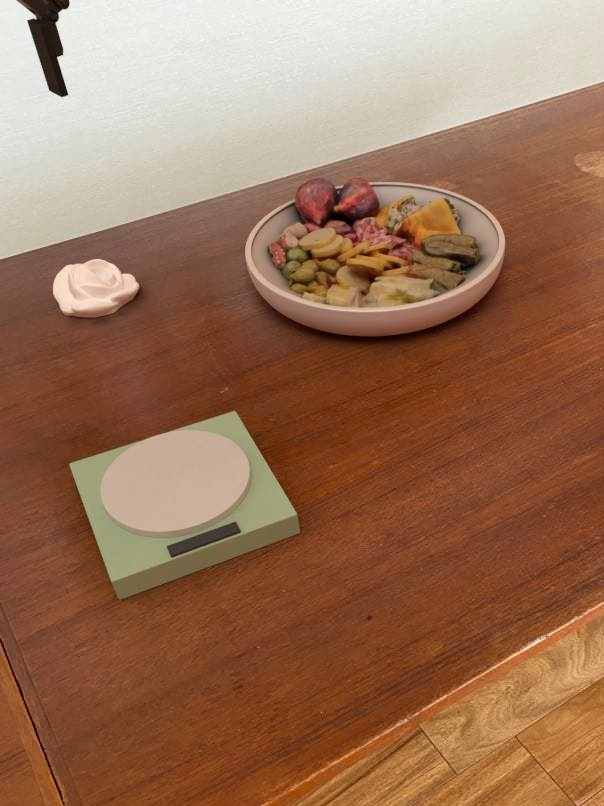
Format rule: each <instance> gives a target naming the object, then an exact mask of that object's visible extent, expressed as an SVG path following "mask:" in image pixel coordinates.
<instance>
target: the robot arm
mask: <svg viewBox="0 0 604 806" xmlns="http://www.w3.org/2000/svg"><path fill="white" fill-rule="evenodd" d="M16 2H18V3H19V4H20V5H22V7H24V8H25V9H27V10H28V11H29V12H30V13H31V14H33V15H34V16H35V17H34V18H30V19H27V20H26V22H27V24H28V28H29V31H30V34H31V37H32V40H33V44H34V47H35V50H36V53H37V57H38V59H39V63H40V66H41V69H42V72H43V75H44V76H43V77H44V78H45V82H46V85H47V89H48V91H49V92H51V93H53V94H55V95H57V96H59V97H60V98H64V97H68V96H69V92H68V89H67V85H66V82H65V79H64V75H63V72H62V69H61V65H60V62H59V57H62V56H64V47H63V46H64V45H63V43H62V40H61V36H60V33H59V29H58V26H57V23H58V22H59V19H60V14H59V13H61V12H62V11H63V10H67V9H69V7H70V4H71V3H70V0H16Z"/></svg>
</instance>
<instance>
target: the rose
mask: <svg viewBox="0 0 604 806" xmlns="http://www.w3.org/2000/svg"><path fill="white" fill-rule="evenodd" d="M139 290H140V284H139V282H137V280H136V277H135V276H134V275H132V274H131V273H122V272H121V269H120V268H118V267H117V265H115V264H114V263H111V262H108V261H107V260H104V259H101V258H94V259H91V260H88V261H86V262H84V263H75V264H67V265H65V266H64V267H62V268H61V270H60V271H59V272H58V273H57V274H56V275H55V277H54V280H53V284H52V294H53V297H54V299H55V301H56V302H57V303H58V306H59V308H60V311H61V312H62V314H63V315H65V316H68V317H69V316H71V317H78V318H79V317H80V318H97V317H98V318H99V317H104V316H107V315H112V314H114V313H115V312H117V311H118V310H119V309H120V308H122V307H123V306H124V305H126V304H127V303H129V302H131V301H133V300H134V298H135V297H136V295H137V293H138V292H139Z"/></svg>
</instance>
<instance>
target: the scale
mask: <svg viewBox="0 0 604 806" xmlns="http://www.w3.org/2000/svg"><path fill="white" fill-rule="evenodd" d="M68 466H69V468H70V471H71V474H72V477H73V479H74V482H75V485H76V487H77V490H78V493H79V496H80V499H81V501H82V505H83V508H84V510H85V513H86V515H87V519H88V521H89V525H90V527H91V530H92V532H93V535H94V538H95V541H96V544H97V546H98V549H99V552H100V555H101V557H102V560H103V563H104V566H105V569H106V571H107V575H108V577H109V579H110V583H111V585H112V587H113V589H114V592H115V594H116V597H117V599H118V600H119V601H121V600H124V599H127V598H129V597H132V596H135V595H137V594H141V593H142V592H145V591H148V590H151V589H153V588H156V587H159V586H162V585H165V584H167V583H170V582H172V581H175V580H178V579H180V578H184V577H186V576H188V575H191V574H194V573H197V572H199V571H202V570H205V569H207V568H210V567H213V566H215V565H219V564H221V563H223V562H226V561H230V560H232V559H235V558H237V557H240V556H242V555H245V554H248V553H250V552H254V551H257V550H259V549H262V548H265V547H267V546H269V545H270V546H271V545H272V544H275V543H277V542H280V541H283V540H286V539H288V538H291V537H294V536H297V535H299V534H301V528H300V521H299V516H298V515H299V514H298V512H297V510H296V509H295V508H294V506H293V504H292V503H291V501H290V499H289V497H288V496H287V494H286V493H285V491H284V489H283V488H282V486H281V485H280V483H279V481H278V479H277V477H276V475H275V474H274V472H273V471H272V469H271V467H270V466H269V464H268V462H267V460H266V459H265V458H264V456H263V454H262V452H261V451H260V449H259V448H258V446H257V444H256V442H255V441H254V439H253V438H252V436H251V434H250V432H249V431H248V429H247V427H246V425H245V424H244V422H243V421H242V419H241V417H240V416H239V414H238V412H237V411H236V410H233V411H229V412H227V413H223V414H219V415H217V416H214V417H211V418H208V419H204V420H202V421H198V422H195V423H192V424H189V425H186V426H182V427H179V428H176V429H173V430H170V431H166V432H164V433H160V434H157V435H154V436H153V435H152V436H151V437H148V438H144V439H141V440H139V441H136V442H133V443H132V442H131V443H129V444H126V445H123V446H120V447H116V448H113V449H110V450H107V451H104V452H100V453H98V454H95V455H91V456H88V457H84V458H81V459H79V460H76V461H72V462H70V463H69V464H68Z"/></svg>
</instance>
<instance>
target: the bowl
mask: <svg viewBox="0 0 604 806" xmlns="http://www.w3.org/2000/svg"><path fill="white" fill-rule="evenodd" d="M505 250H506V237H505V232H504V229H503V227H502V225H501V224H500V222H499V221H498V219H497V218H496V217H495V216H494V215H493V214H492V213H491V212H490V211H489V210H488V209H487V208H485V206H482V205H481V204H479V203H478V202H476V201H474V200H472V199H470V198H469V197H466V196H464V195H462V194H459V193H457V192H454V191H451V190H447V189H444V188H441V187H436V186H431V185H427V184H420V183H411V182H399V181H373V182H372V181H371V182H369V181H368V180H366V179H364V178H361V177H352V178H350V179H349V180H347V181H346V183H344V184H342V185H337V186H336V185H335V184H334V183H332V182H331V181H330V180H329V179H325V178H321V177H316V178H312V179H310V180H306V182H304V183H302V184H301V185H300V186H299V187H298V188H297V190H296V194H295V197H294V199H292V200H290V201H287V202H285V203H283V204H282V205H280V206H278V207H276V208H275V209H273V210H272V211H271V212H269V213H268V214H266V215H265V216H264V217H262V218H261V220H259V222H257V224H256V225H255V226H254V227H253V229H252V230H251V232H250V233H249V235H248V237H247V240H246V243H245V249H244V256H245V262H246V269H247V271H248V274H249V277H250V279H251V282H252V284H253V285H254V287H255V289H256V291H257V292H258V293H259V294H260V296H261V297H262V298H263V299H264V301H265V302H267V303H268V304H269V305H270V306H271V307H272V308H273V309H275V310H276V311H277V312H278V313H280V314H282V315H283V316H285V317H287V318H288V319H290V320H292V321H294V322H296V323H298V324H300V325H303V326H306V327H308V328H311V329H313V330H318V331H321V332H325V333H330V334H335V335H341V336H342V335H343V336H350V337H351V336H352V337H387V336H388V337H389V336H397V335H403V334H410V333H414V332H418V331H422V330H426V329H429V328H432V327H435V326H438V325H441V324H444V323H446V322H448V321H450V320H452V319H455V318H456V317H458V316H460V315H462V314H463V313H465V312H467V311H468V310H469V309H471V308H472V307H473V306H475V305H476V304H478V302H480V300H482V299H483V298H484V297H485V296H486V294H487V293H488V292H489V291H490V290H491V288H492V287H493V286H494V284H495V282H496V281H497V279H498V277H499V275H500V273H501V271H502V267H503V264H504V259H505V254H506V253H505Z"/></svg>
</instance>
